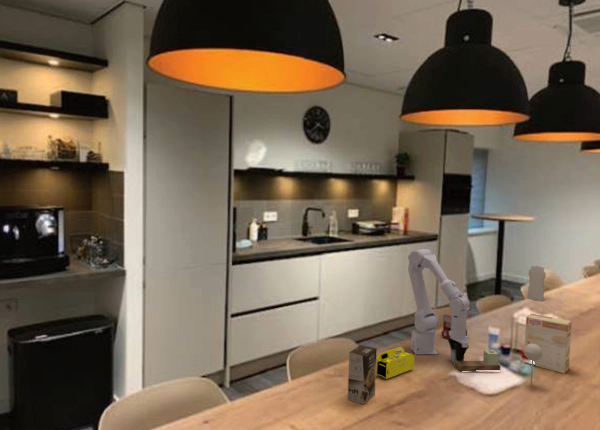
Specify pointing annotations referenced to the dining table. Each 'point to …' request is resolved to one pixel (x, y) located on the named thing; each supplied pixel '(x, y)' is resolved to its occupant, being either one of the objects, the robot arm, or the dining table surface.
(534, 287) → the dispenser
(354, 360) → the coffee box
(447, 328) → the toy fire truck
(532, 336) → the coffeecake box
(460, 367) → the walnut base brick
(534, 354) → the lollipop
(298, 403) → the dining table surface
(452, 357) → the slate block
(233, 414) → the dining table surface
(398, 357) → the yellow toy machine
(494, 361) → the sage block
